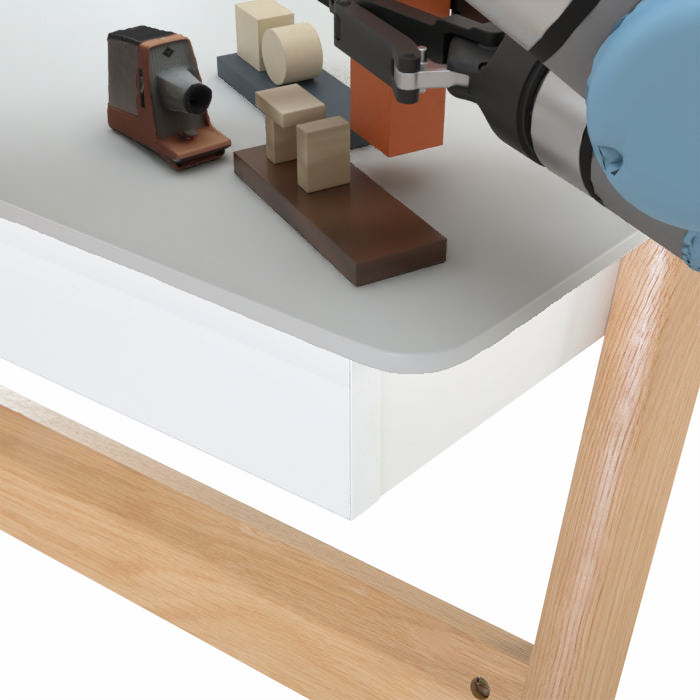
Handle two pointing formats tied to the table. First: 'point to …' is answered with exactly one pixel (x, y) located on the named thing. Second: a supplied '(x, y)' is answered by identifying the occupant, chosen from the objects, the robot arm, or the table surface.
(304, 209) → the blocks on brown board
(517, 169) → the table surface
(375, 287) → the table surface
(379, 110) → the terracotta cuboid
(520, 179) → the table surface
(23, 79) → the table surface
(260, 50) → the wooden block set
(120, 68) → the electronic device
